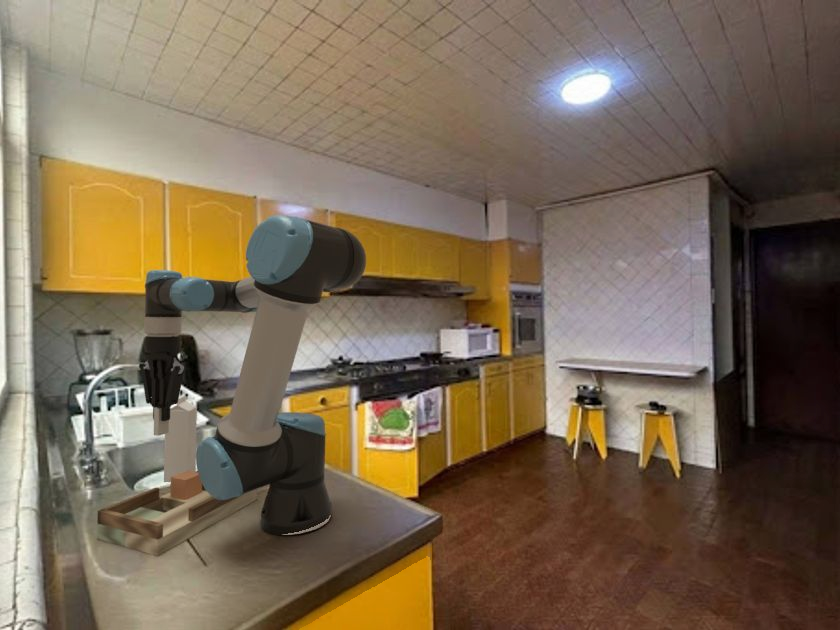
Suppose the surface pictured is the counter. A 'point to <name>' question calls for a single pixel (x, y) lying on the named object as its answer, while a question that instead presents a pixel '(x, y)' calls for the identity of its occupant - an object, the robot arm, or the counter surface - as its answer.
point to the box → (163, 519)
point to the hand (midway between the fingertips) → (161, 433)
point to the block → (186, 485)
